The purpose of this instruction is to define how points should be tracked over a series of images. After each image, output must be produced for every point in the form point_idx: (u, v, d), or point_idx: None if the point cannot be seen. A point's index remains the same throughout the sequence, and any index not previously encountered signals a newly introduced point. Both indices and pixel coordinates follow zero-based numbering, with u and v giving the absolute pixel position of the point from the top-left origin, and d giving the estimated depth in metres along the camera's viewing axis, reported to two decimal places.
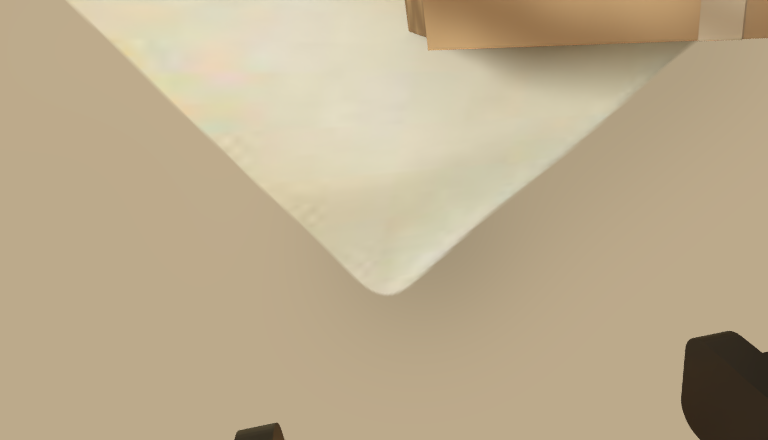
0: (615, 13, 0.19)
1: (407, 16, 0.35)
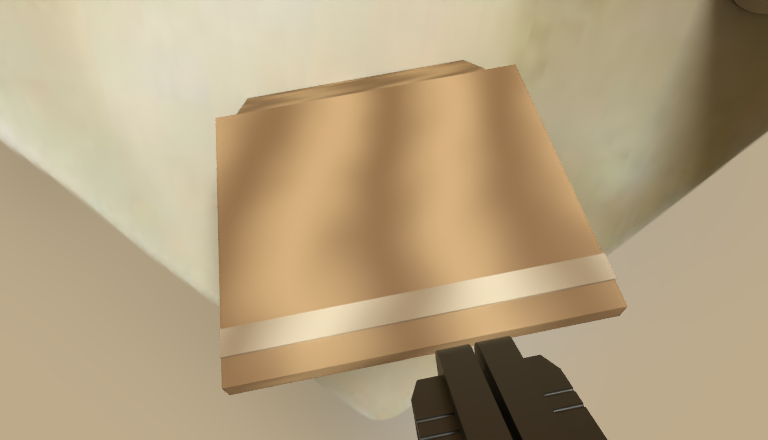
0: (241, 266, 0.23)
1: (260, 96, 0.38)
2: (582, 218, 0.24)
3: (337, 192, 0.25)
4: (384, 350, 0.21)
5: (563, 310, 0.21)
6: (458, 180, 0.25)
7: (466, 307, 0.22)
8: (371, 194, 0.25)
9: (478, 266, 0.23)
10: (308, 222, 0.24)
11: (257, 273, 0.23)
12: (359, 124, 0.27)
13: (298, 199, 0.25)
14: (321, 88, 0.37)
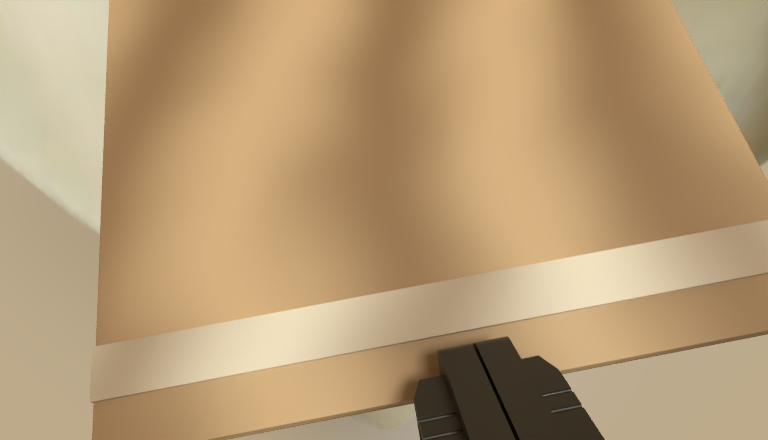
0: (139, 229, 0.13)
1: None
2: (743, 151, 0.13)
3: (311, 99, 0.15)
4: (392, 393, 0.11)
5: (721, 321, 0.12)
6: (520, 81, 0.15)
7: (543, 313, 0.12)
8: (370, 103, 0.14)
9: (561, 235, 0.13)
10: (259, 151, 0.14)
11: (167, 241, 0.13)
12: None
13: (243, 110, 0.15)
14: None
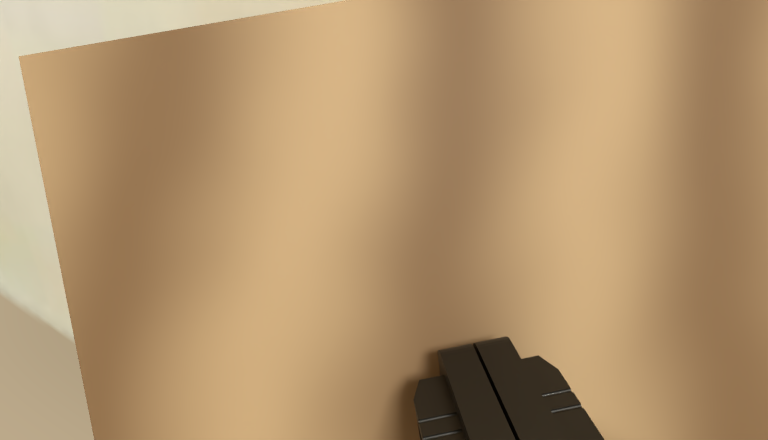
0: None
1: None
2: None
3: (342, 296, 0.11)
4: None
5: None
6: (604, 275, 0.12)
7: None
8: (418, 305, 0.11)
9: None
10: (283, 373, 0.11)
11: None
12: (386, 100, 0.11)
13: (256, 312, 0.11)
14: None
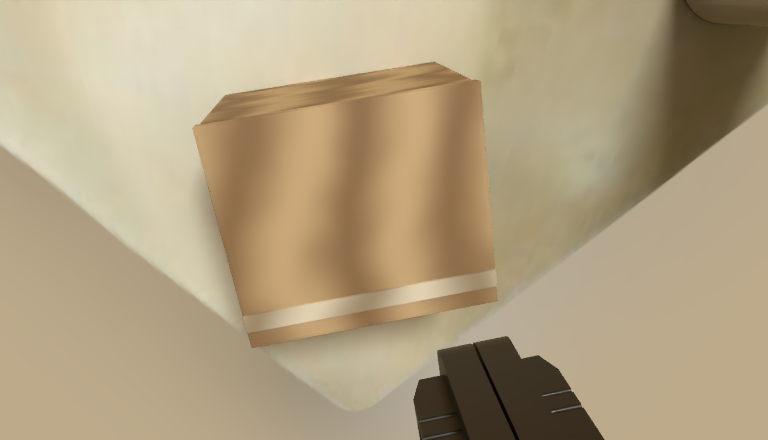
0: (248, 273, 0.33)
1: (237, 93, 0.40)
2: (490, 242, 0.34)
3: (315, 214, 0.32)
4: (350, 326, 0.35)
5: (460, 303, 0.35)
6: (410, 207, 0.33)
7: (402, 302, 0.34)
8: (342, 217, 0.32)
9: (414, 275, 0.34)
10: (294, 240, 0.32)
11: (261, 278, 0.33)
12: (331, 145, 0.31)
13: (284, 219, 0.32)
14: (296, 86, 0.39)
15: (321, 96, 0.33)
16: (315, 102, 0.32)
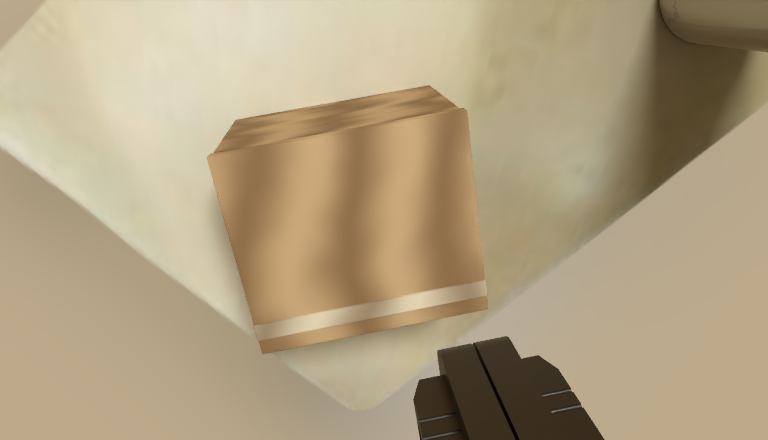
0: (258, 286, 0.36)
1: (246, 118, 0.43)
2: (479, 255, 0.37)
3: (318, 233, 0.35)
4: (352, 333, 0.38)
5: (453, 311, 0.38)
6: (404, 225, 0.36)
7: (399, 311, 0.38)
8: (343, 235, 0.35)
9: (410, 286, 0.37)
10: (300, 256, 0.35)
11: (270, 290, 0.36)
12: (332, 170, 0.34)
13: (290, 238, 0.35)
14: (301, 111, 0.42)
15: (323, 124, 0.37)
16: (317, 131, 0.35)
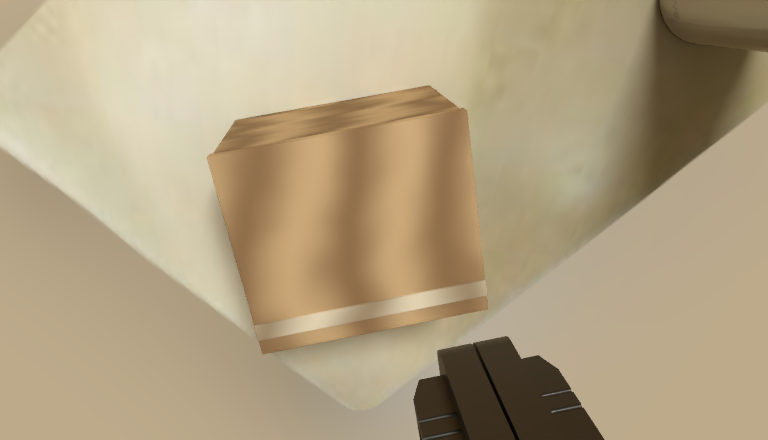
0: (259, 286, 0.36)
1: (246, 118, 0.43)
2: (479, 255, 0.37)
3: (318, 233, 0.35)
4: (352, 333, 0.38)
5: (453, 311, 0.38)
6: (404, 225, 0.36)
7: (399, 311, 0.38)
8: (343, 235, 0.35)
9: (410, 286, 0.37)
10: (300, 256, 0.35)
11: (270, 290, 0.36)
12: (332, 170, 0.34)
13: (290, 238, 0.35)
14: (301, 111, 0.42)
15: (323, 124, 0.37)
16: (317, 131, 0.35)
